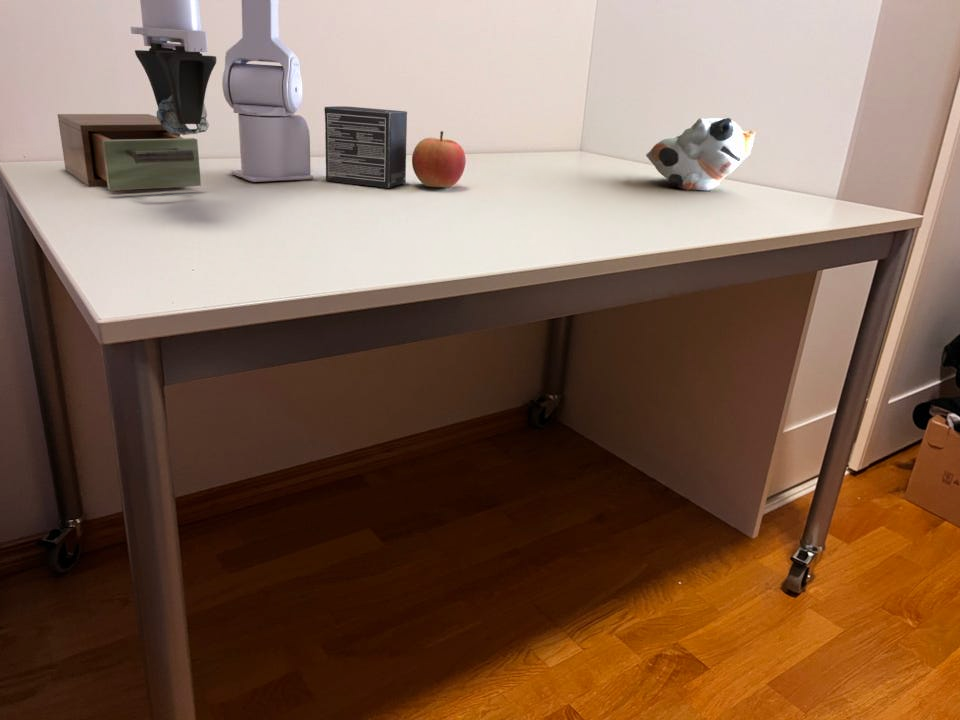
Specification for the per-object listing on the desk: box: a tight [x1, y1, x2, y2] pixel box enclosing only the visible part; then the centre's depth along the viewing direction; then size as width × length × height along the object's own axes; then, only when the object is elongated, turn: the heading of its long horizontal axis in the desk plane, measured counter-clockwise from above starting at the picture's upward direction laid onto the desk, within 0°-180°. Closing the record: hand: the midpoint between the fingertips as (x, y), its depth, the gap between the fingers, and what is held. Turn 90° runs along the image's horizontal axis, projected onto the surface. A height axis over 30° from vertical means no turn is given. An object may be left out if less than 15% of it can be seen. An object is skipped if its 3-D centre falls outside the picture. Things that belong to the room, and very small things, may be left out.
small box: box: [323, 105, 408, 189], centre depth 111 cm, size 11×6×10 cm, turn 71°
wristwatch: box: [156, 95, 210, 136], centre depth 83 cm, size 3×5×5 cm
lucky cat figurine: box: [645, 117, 756, 191], centre depth 126 cm, size 15×12×14 cm
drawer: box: [88, 131, 202, 192], centre depth 96 cm, size 17×11×6 cm, turn 38°
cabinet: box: [57, 113, 181, 187], centre depth 105 cm, size 14×12×8 cm
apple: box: [411, 130, 467, 188], centre depth 111 cm, size 8×8×8 cm
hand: (180, 120), depth 83 cm, fingers closed on wristwatch, 5 cm apart
